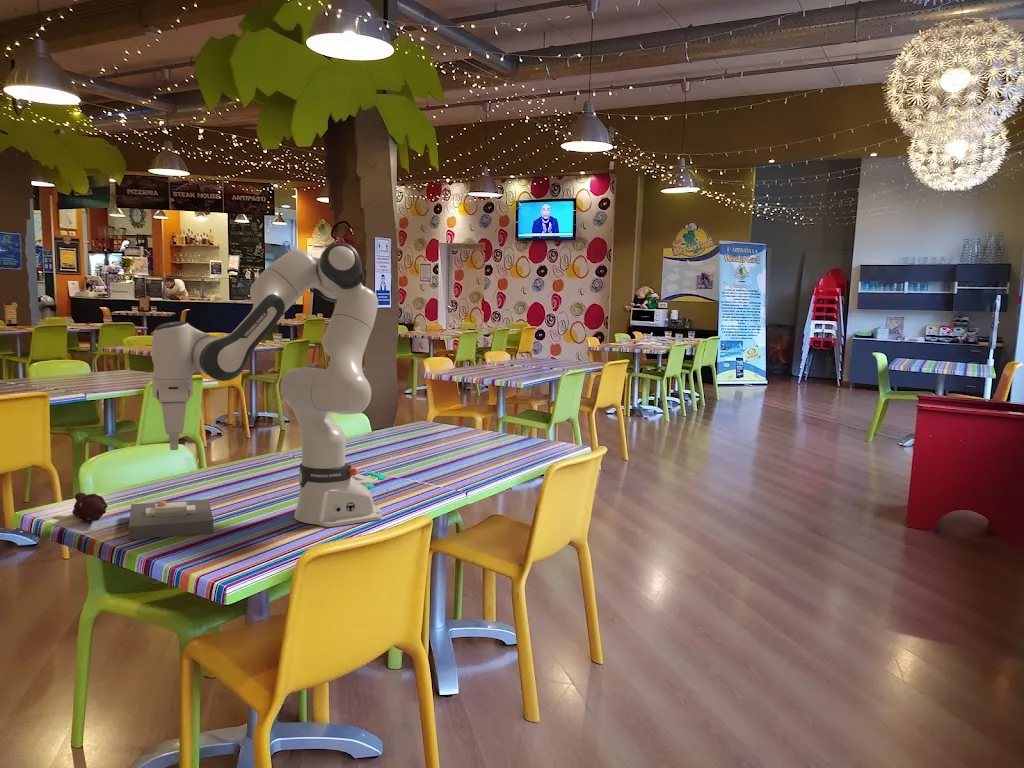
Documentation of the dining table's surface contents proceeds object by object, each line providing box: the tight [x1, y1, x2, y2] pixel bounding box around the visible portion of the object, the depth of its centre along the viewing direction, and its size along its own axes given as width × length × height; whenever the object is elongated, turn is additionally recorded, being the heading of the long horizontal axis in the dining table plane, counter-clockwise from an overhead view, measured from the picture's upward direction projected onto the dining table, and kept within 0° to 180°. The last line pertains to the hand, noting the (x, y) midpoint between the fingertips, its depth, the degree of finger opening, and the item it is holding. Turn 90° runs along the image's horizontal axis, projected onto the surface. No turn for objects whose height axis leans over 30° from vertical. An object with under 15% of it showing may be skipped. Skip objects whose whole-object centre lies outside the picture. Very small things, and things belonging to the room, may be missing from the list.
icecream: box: [72, 492, 108, 523], centre depth 181 cm, size 7×7×15 cm
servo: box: [146, 500, 196, 517], centre depth 182 cm, size 11×4×6 cm, turn 115°
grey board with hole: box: [128, 498, 214, 541], centre depth 182 cm, size 18×18×3 cm
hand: (173, 445), depth 181 cm, fingers open, 8 cm apart
